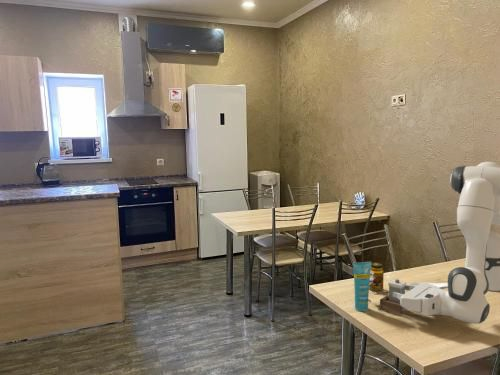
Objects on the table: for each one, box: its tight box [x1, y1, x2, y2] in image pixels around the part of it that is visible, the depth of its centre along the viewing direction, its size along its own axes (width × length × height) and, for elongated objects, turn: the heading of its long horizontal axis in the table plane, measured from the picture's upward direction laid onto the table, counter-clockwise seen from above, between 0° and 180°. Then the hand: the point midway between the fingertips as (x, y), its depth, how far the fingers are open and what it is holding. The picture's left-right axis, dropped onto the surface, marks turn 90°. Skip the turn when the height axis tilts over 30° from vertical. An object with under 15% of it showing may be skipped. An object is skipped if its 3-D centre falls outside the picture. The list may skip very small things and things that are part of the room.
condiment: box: [369, 262, 388, 295], centre depth 168 cm, size 7×8×12 cm
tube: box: [352, 260, 372, 312], centre depth 148 cm, size 7×5×19 cm, turn 103°
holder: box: [379, 293, 403, 316], centre depth 148 cm, size 9×8×4 cm
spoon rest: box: [407, 281, 448, 291], centre depth 158 cm, size 24×12×7 cm, turn 52°
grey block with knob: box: [388, 278, 407, 312], centre depth 147 cm, size 5×5×12 cm
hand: (399, 290), depth 146 cm, fingers open, 8 cm apart
